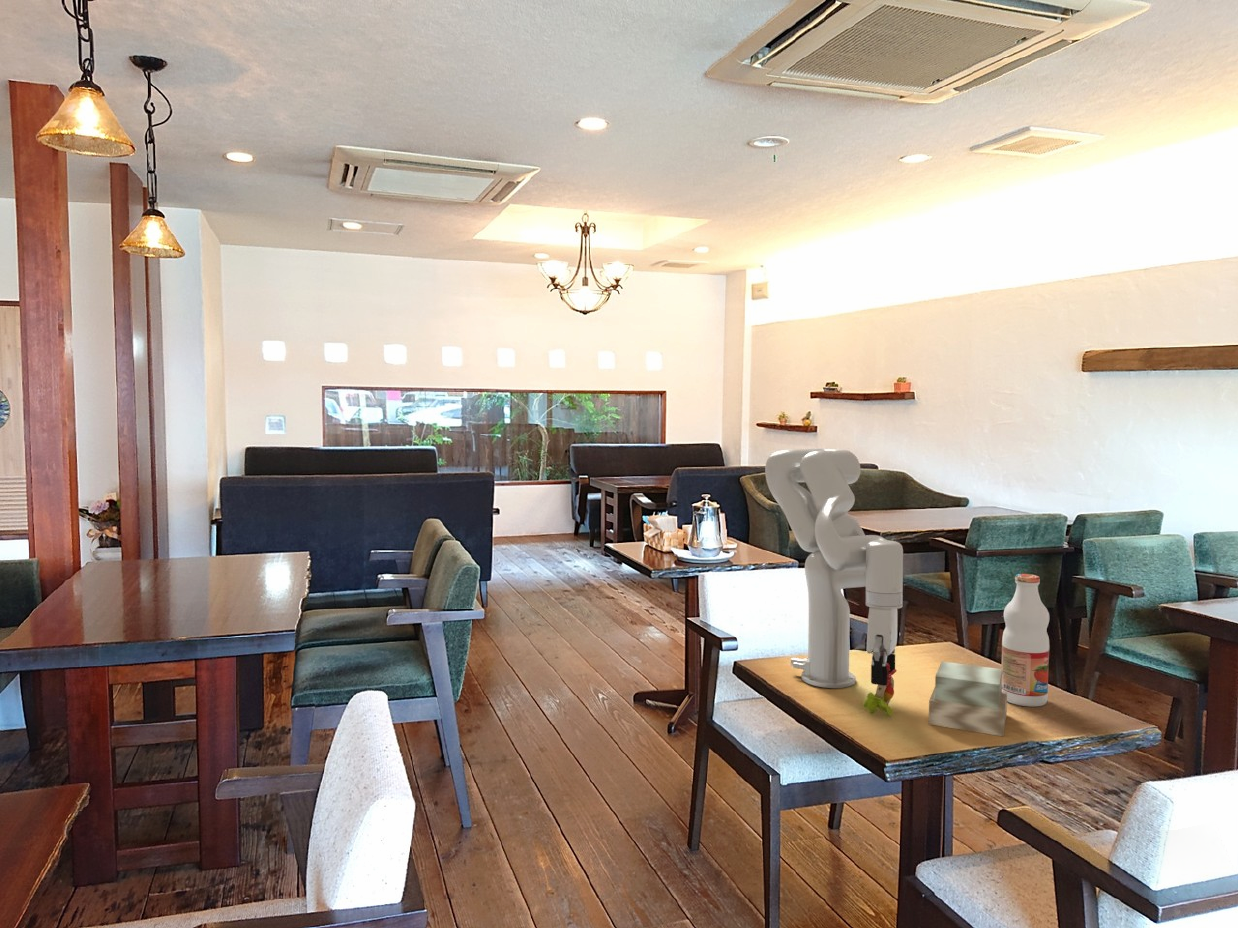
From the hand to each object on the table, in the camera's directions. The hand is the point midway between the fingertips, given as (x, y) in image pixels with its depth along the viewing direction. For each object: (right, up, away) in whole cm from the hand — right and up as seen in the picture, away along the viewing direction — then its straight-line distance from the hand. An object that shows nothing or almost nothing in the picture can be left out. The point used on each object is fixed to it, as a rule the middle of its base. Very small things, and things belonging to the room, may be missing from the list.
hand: (883, 677), depth 180 cm
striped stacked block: (+16, -8, -4) cm, 19 cm away
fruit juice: (+33, -7, +7) cm, 35 cm away
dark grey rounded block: (+12, -5, +46) cm, 48 cm away
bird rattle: (0, -8, +1) cm, 8 cm away
